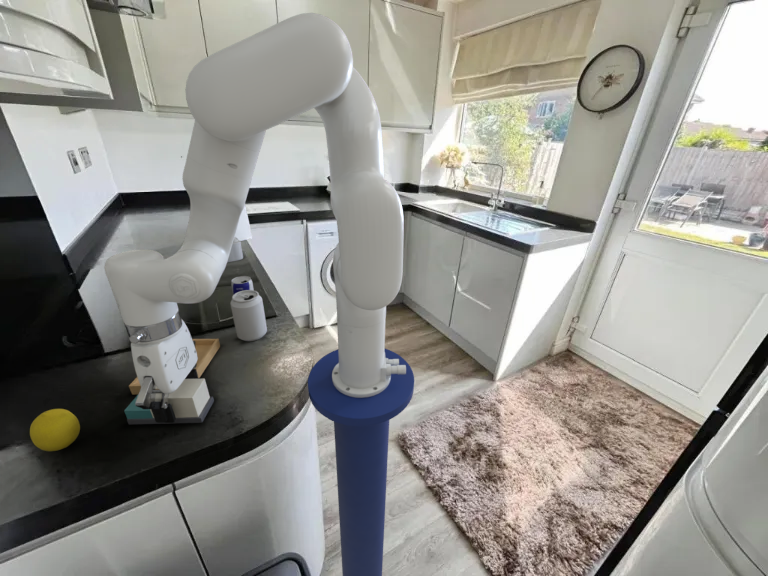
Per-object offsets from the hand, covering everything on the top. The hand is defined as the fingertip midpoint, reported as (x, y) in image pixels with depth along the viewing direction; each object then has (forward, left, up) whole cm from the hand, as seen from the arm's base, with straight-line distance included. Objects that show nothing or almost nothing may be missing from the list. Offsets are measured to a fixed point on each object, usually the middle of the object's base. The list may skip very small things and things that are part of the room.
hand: (179, 402), depth 61 cm
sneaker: (+2, 0, -2) cm, 3 cm away
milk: (+29, -111, -2) cm, 115 cm away
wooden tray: (+7, -13, -2) cm, 15 cm away
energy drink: (-1, -35, -2) cm, 35 cm away
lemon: (+16, +7, -2) cm, 17 cm away
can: (-5, -26, -2) cm, 26 cm away
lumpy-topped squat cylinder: (+23, -83, -2) cm, 86 cm away
